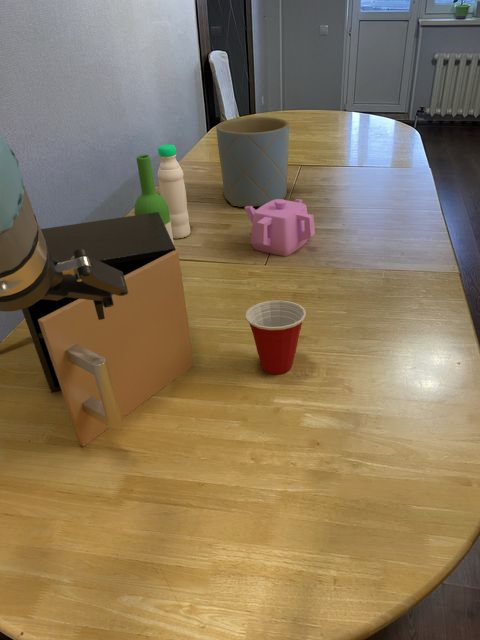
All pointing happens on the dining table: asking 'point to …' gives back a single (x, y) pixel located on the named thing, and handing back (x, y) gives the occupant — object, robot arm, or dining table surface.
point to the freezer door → (120, 347)
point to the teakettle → (280, 226)
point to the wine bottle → (150, 194)
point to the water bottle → (173, 191)
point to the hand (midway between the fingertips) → (41, 322)
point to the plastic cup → (276, 333)
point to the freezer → (103, 245)
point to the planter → (253, 159)
